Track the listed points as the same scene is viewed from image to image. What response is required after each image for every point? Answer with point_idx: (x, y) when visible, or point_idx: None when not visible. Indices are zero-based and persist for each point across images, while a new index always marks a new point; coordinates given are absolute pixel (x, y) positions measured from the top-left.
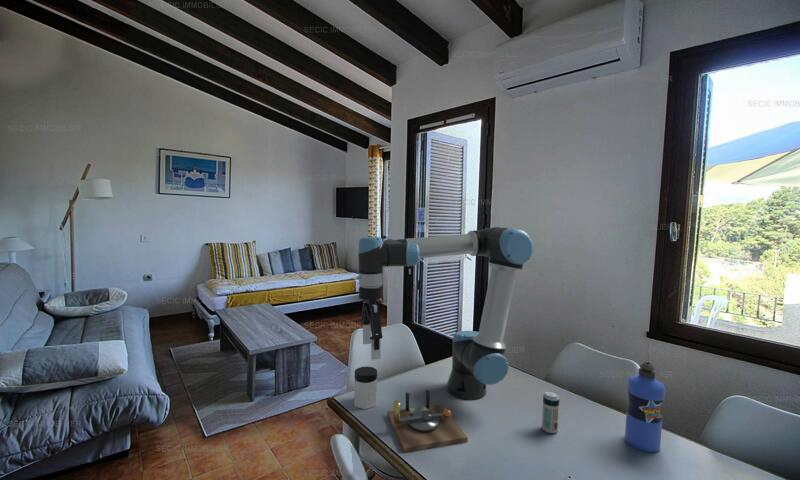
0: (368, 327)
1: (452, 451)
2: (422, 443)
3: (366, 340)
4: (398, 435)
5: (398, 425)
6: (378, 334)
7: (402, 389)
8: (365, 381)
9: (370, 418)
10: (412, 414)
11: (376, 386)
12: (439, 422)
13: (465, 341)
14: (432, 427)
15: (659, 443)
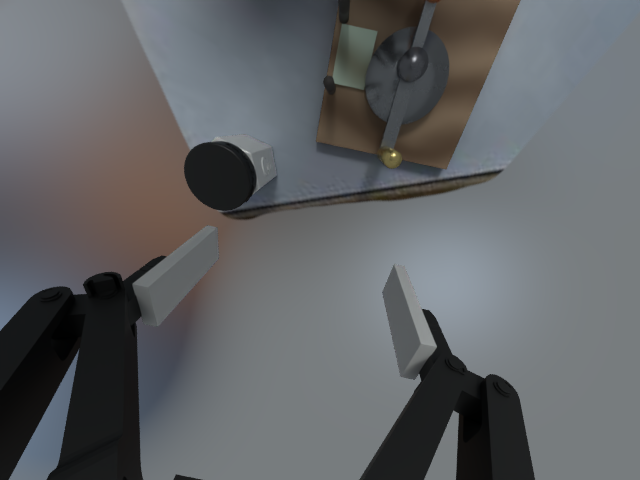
0: (162, 289)
1: (510, 63)
2: (460, 126)
3: (209, 255)
4: (406, 160)
5: (376, 143)
6: (440, 379)
7: (208, 31)
8: (254, 188)
9: (311, 177)
10: (373, 96)
11: (256, 151)
12: None
13: None
14: (448, 75)
15: None
